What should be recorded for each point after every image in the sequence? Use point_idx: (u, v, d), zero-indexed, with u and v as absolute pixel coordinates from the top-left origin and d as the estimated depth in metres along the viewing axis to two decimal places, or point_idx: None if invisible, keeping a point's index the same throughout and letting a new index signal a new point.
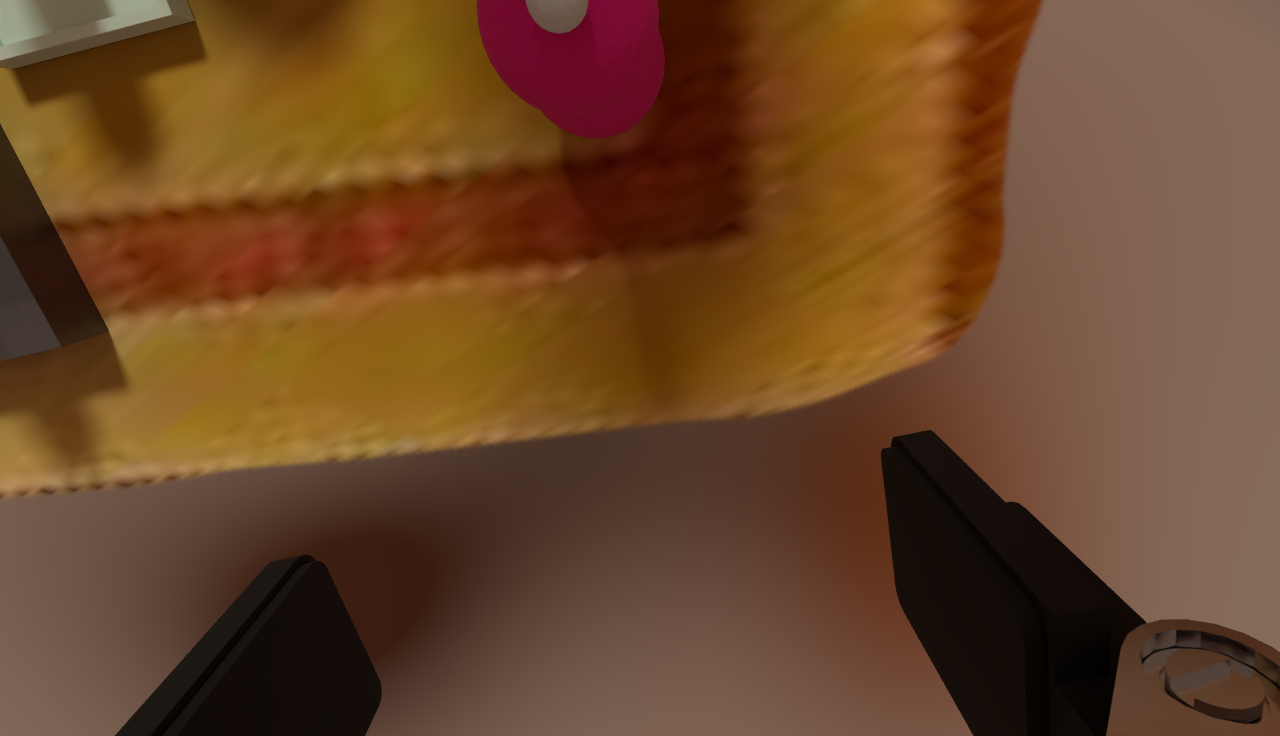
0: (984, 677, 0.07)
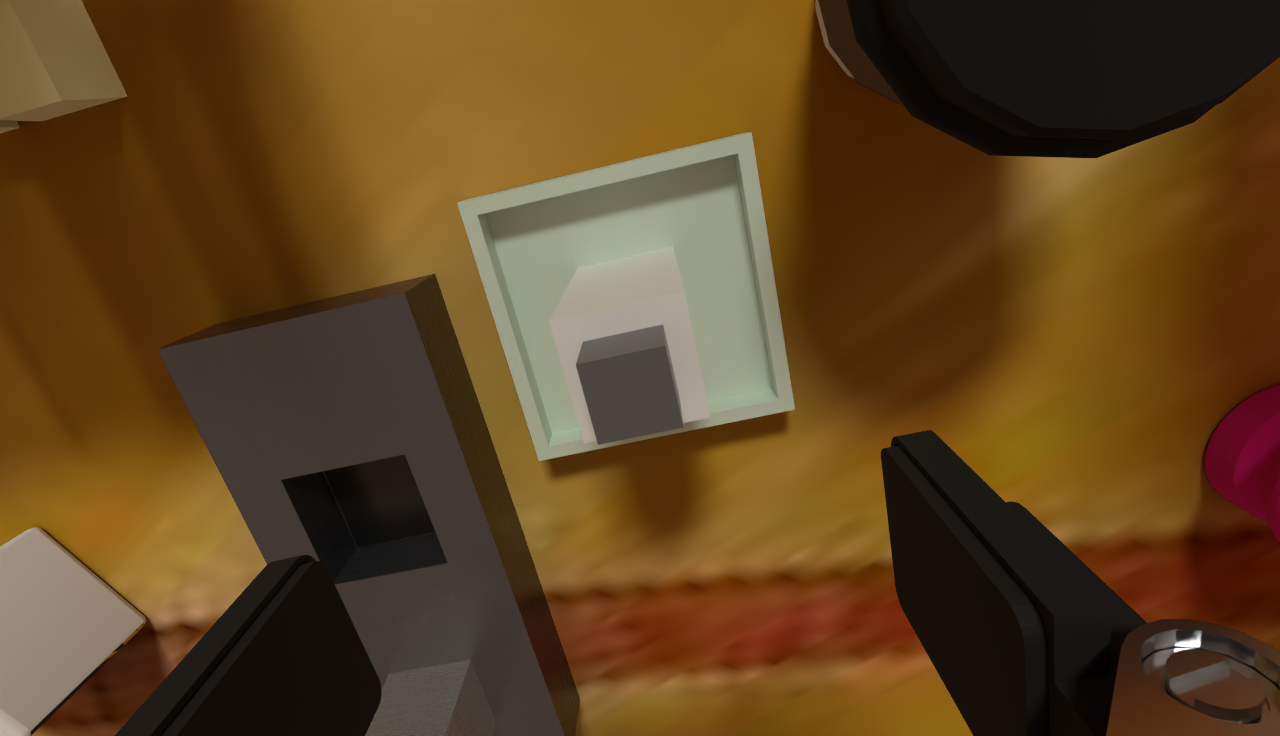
0: (985, 677, 0.07)
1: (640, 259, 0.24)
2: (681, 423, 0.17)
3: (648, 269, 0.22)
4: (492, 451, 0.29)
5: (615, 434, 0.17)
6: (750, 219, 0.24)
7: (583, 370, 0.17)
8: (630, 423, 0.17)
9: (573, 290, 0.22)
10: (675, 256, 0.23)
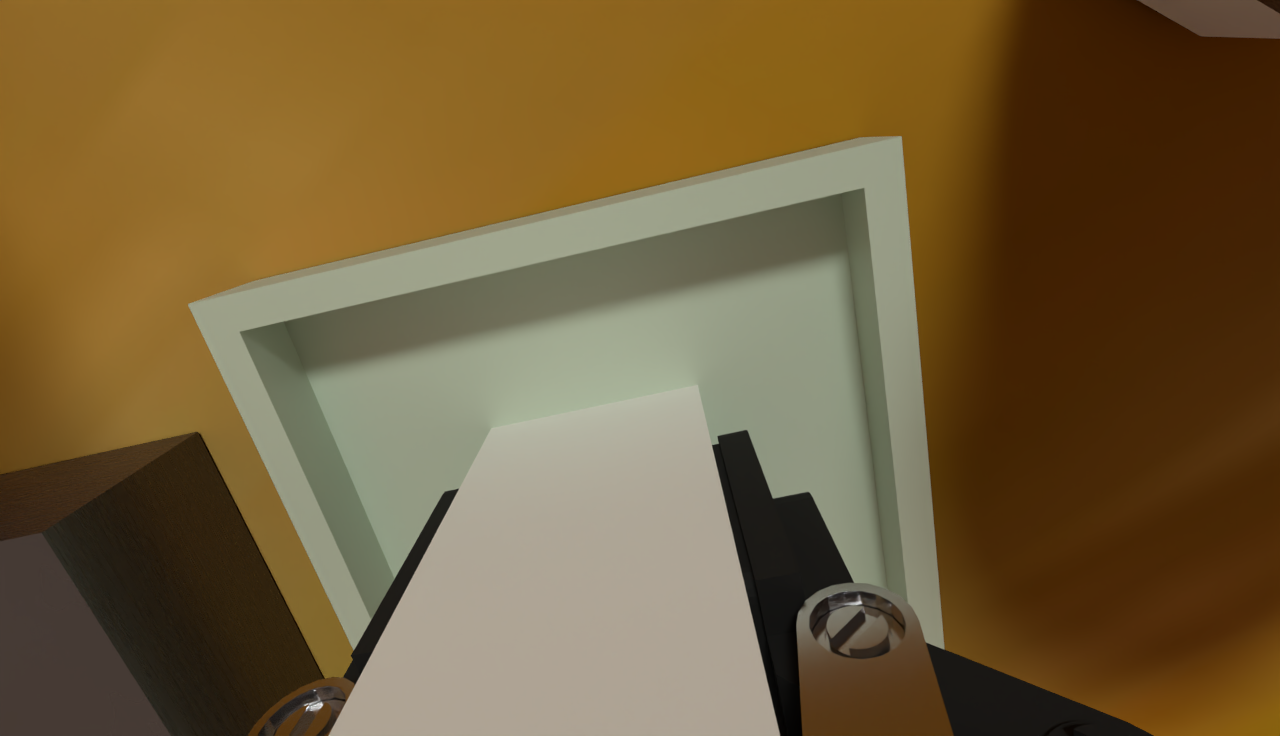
0: None
1: (625, 427, 0.11)
2: None
3: (644, 497, 0.08)
4: None
5: None
6: (884, 340, 0.10)
7: None
8: None
9: (438, 570, 0.08)
10: (709, 437, 0.10)
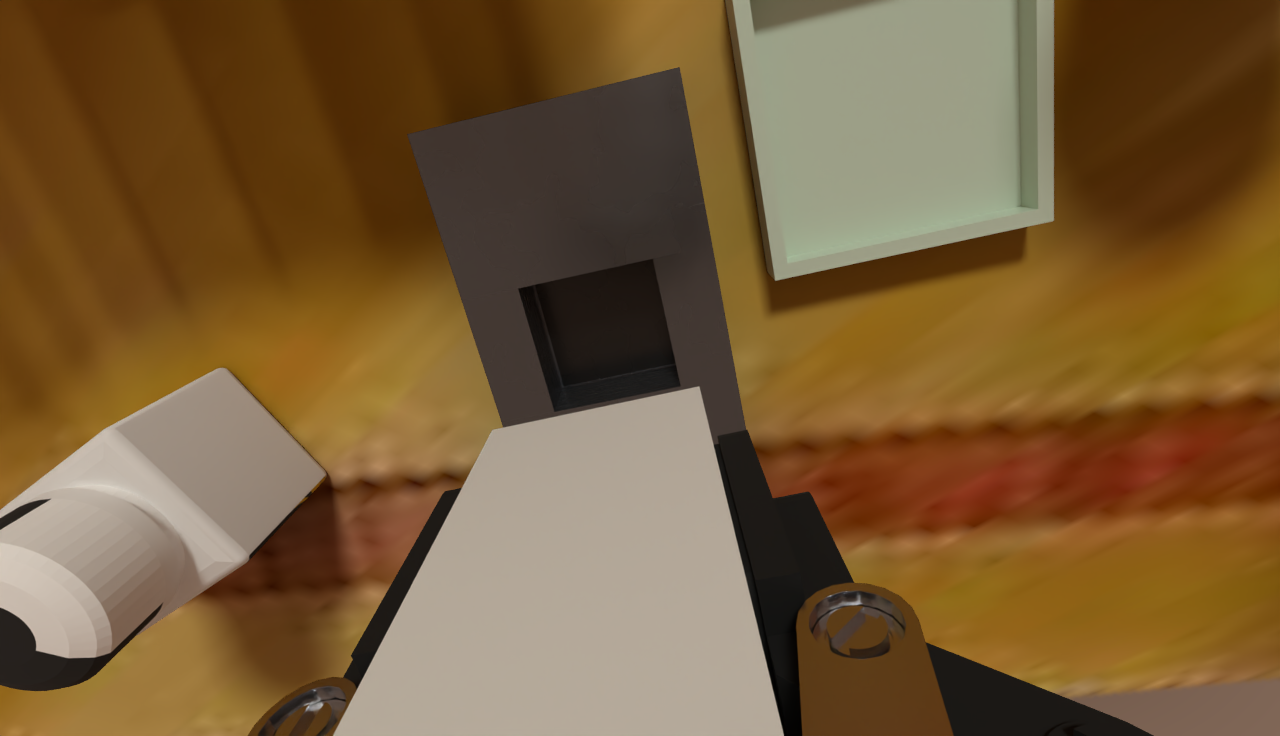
0: None
1: (627, 429, 0.11)
2: None
3: (646, 499, 0.08)
4: None
5: None
6: None
7: None
8: None
9: (440, 572, 0.08)
10: None
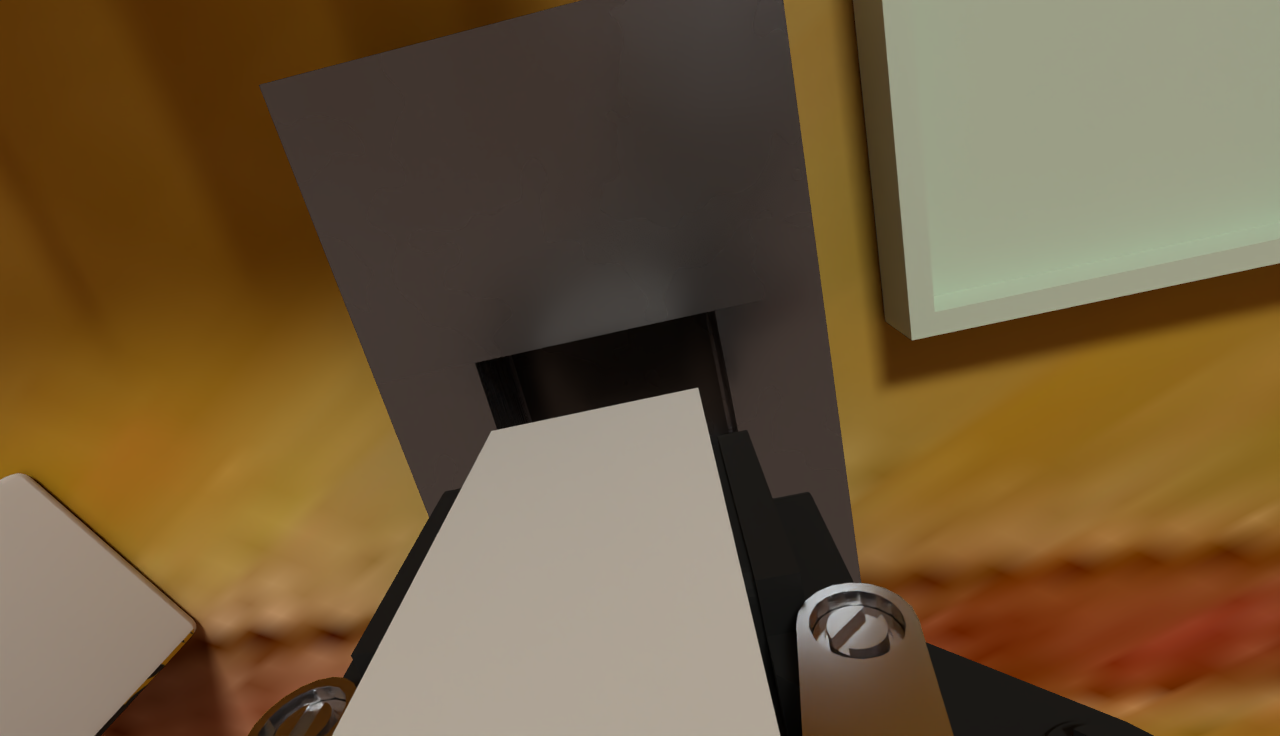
0: None
1: (626, 431, 0.11)
2: None
3: (644, 501, 0.08)
4: None
5: None
6: None
7: None
8: None
9: (438, 574, 0.08)
10: (710, 440, 0.10)
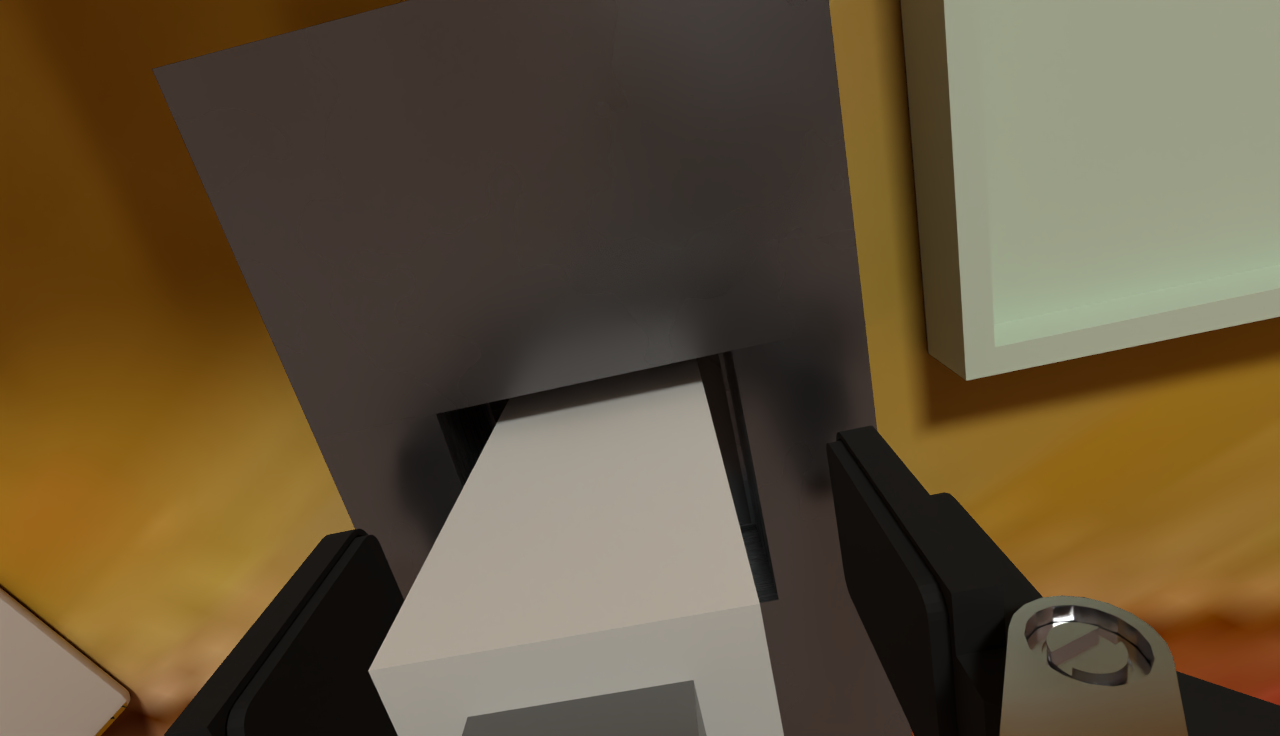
0: (906, 655, 0.08)
1: (633, 382, 0.13)
2: None
3: (649, 429, 0.10)
4: None
5: None
6: None
7: None
8: None
9: (484, 481, 0.10)
10: (703, 387, 0.12)
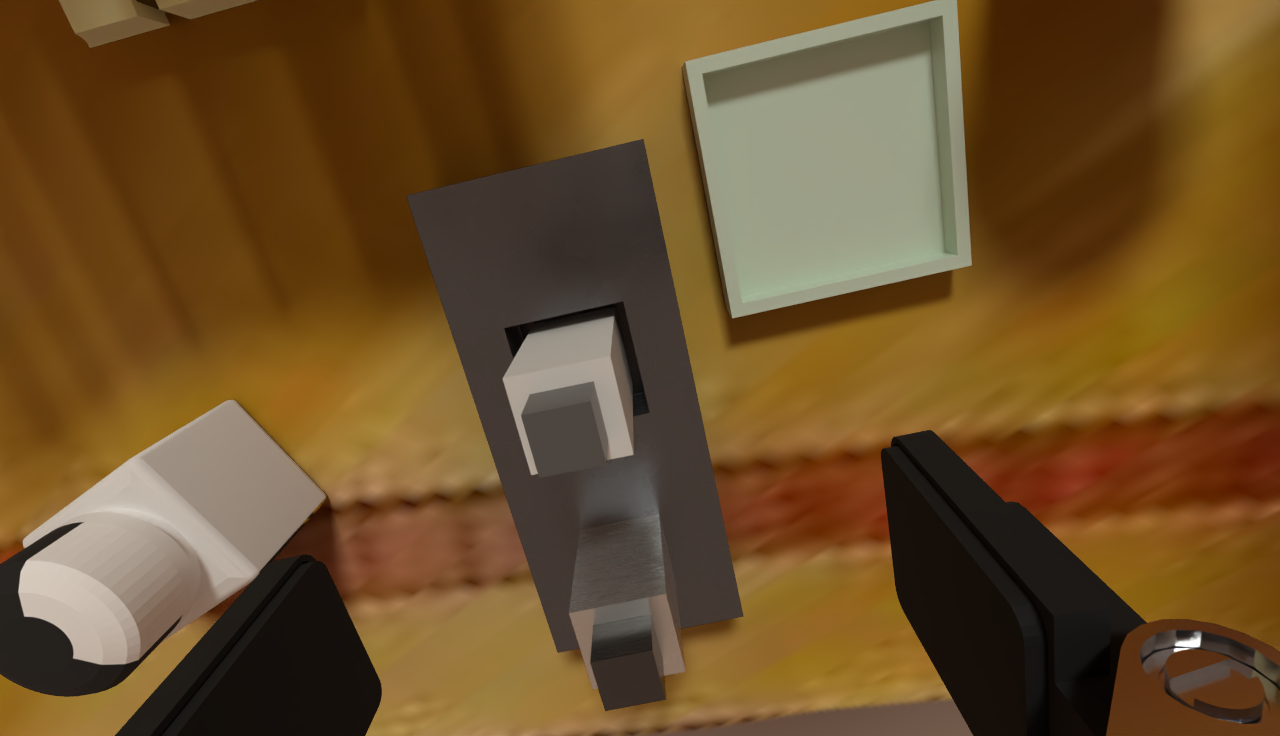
0: (984, 678, 0.07)
1: (586, 318, 0.29)
2: (605, 461, 0.22)
3: (589, 330, 0.27)
4: None
5: (552, 470, 0.22)
6: (948, 78, 0.26)
7: (527, 419, 0.21)
8: (564, 461, 0.22)
9: (526, 347, 0.26)
10: (613, 317, 0.28)
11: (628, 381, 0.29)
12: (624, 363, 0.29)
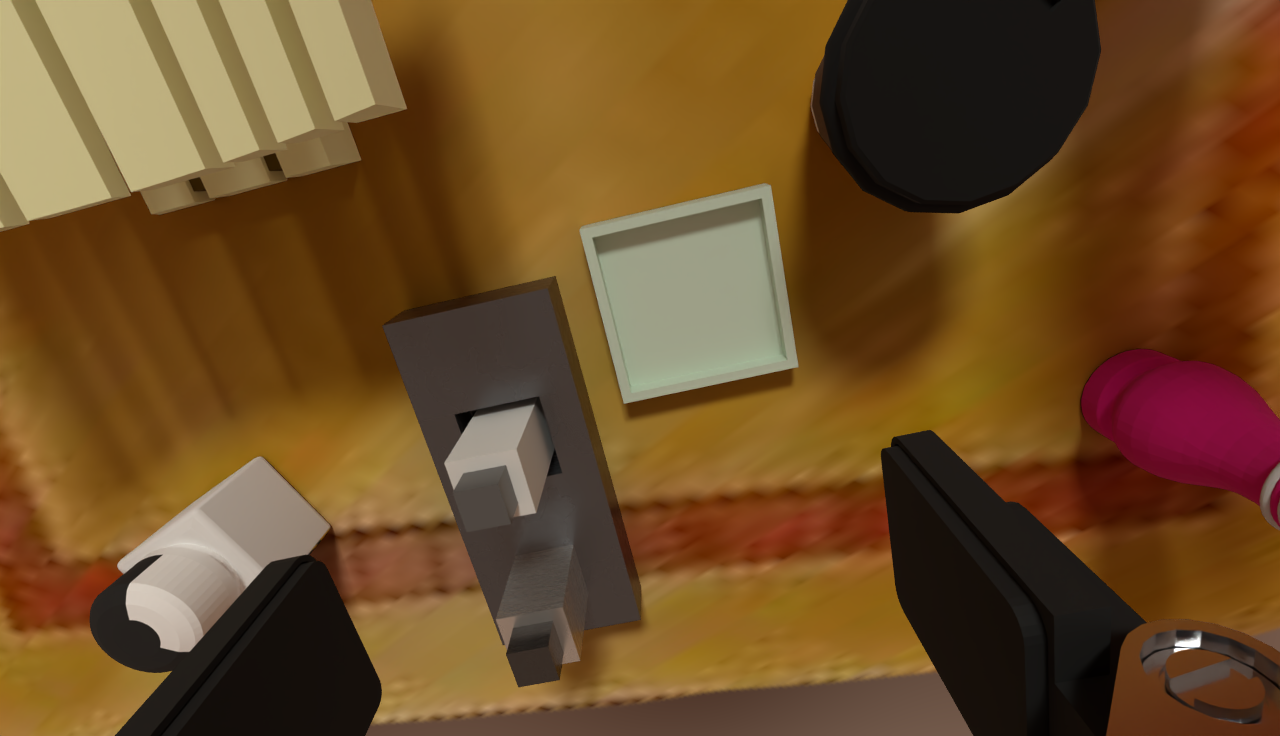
0: (985, 677, 0.07)
1: (515, 404, 0.40)
2: (509, 521, 0.33)
3: (513, 418, 0.38)
4: (588, 399, 0.42)
5: (475, 527, 0.33)
6: (769, 240, 0.37)
7: (456, 495, 0.32)
8: (483, 521, 0.33)
9: (467, 432, 0.37)
10: (533, 406, 0.39)
11: (546, 450, 0.40)
12: (543, 437, 0.40)
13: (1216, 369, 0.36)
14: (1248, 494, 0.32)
